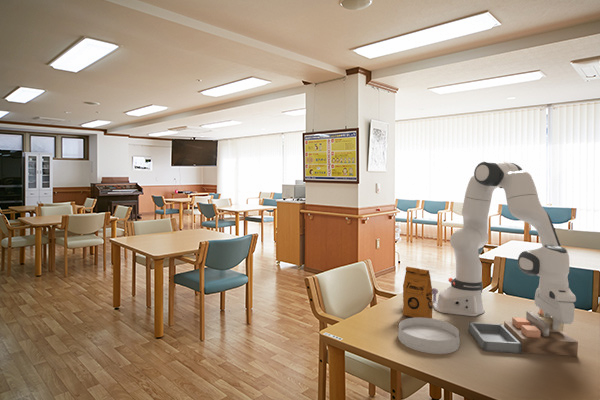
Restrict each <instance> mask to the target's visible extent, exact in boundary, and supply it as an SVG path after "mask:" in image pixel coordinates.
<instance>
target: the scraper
mask: <svg viewBox="0 0 600 400" xmlns="http://www.w3.org/2000/svg"><path fill="white" fill-rule="evenodd" d="M525 312H526V314H525V315H526V316H525V319H527V320H528V321H529V322H530V325H531V326H535V327H537V328H538V329H539V330H540V331H541V334H542V335H543V336H549V331H562V332H564V325H565V324H563V323H560V324H559V329H558V330H555V329H553V328H552V327H551V323H553V321H554V320H553V317H552V316H551V317H544V316H538V315H536V314H535V313H534V312H532V311H528V310H527V311H525Z"/></svg>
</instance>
